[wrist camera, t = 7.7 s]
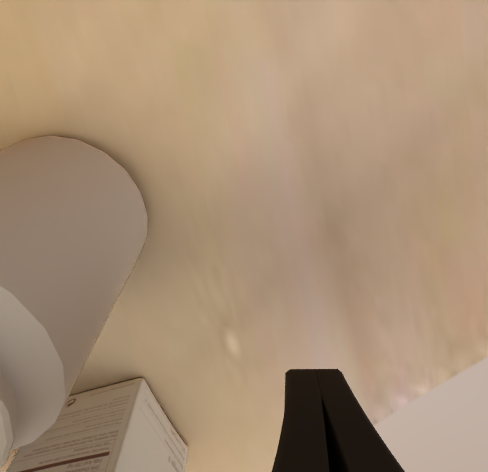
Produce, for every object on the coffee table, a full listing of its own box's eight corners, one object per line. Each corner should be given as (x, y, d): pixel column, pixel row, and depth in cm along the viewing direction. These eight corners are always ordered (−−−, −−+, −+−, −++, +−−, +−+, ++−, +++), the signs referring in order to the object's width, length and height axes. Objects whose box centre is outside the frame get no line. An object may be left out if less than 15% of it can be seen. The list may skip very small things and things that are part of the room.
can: (180, 191, 19) (90, 395, 8) (110, 296, 22) (-26, 549, 11) (31, 96, 17) (-339, 198, 6) (-26, 224, 20) (-346, 445, 9)
